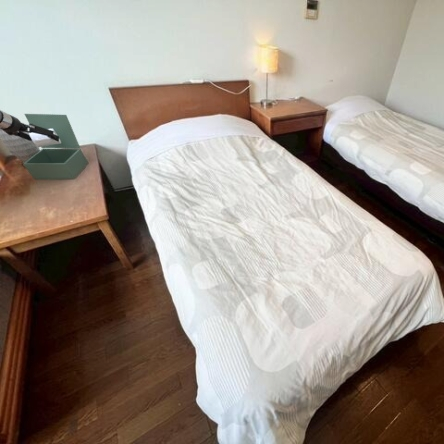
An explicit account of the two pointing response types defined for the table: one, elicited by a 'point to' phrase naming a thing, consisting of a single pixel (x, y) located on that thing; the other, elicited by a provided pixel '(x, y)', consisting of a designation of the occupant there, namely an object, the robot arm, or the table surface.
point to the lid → (55, 128)
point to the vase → (19, 146)
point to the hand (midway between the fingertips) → (44, 138)
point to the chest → (56, 164)
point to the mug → (43, 139)
